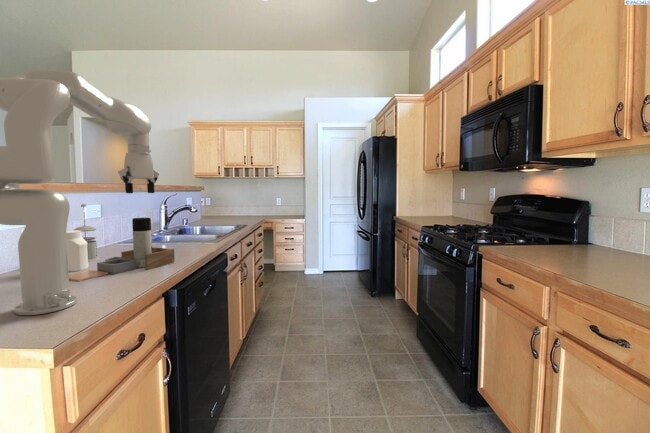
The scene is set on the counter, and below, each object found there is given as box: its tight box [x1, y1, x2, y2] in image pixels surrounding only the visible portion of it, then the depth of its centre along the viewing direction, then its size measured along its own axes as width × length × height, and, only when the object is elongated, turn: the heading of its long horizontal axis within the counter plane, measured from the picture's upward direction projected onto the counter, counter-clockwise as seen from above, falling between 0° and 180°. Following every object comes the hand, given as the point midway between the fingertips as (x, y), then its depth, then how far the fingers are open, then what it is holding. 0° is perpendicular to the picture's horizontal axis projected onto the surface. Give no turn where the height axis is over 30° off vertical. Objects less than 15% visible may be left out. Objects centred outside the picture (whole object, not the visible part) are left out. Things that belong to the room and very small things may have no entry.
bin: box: [96, 258, 137, 275], centre depth 120 cm, size 9×9×4 cm
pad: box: [69, 269, 109, 282], centre depth 112 cm, size 10×10×1 cm
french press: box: [73, 203, 101, 263], centre depth 136 cm, size 10×12×25 cm
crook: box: [105, 256, 122, 261], centre depth 135 cm, size 14×6×1 cm, turn 87°
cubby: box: [120, 246, 175, 271], centre depth 130 cm, size 14×13×6 cm
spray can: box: [131, 217, 153, 268], centre depth 127 cm, size 7×7×20 cm
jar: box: [66, 229, 90, 273], centre depth 120 cm, size 12×10×15 cm
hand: (140, 193), depth 125 cm, fingers open, 9 cm apart
